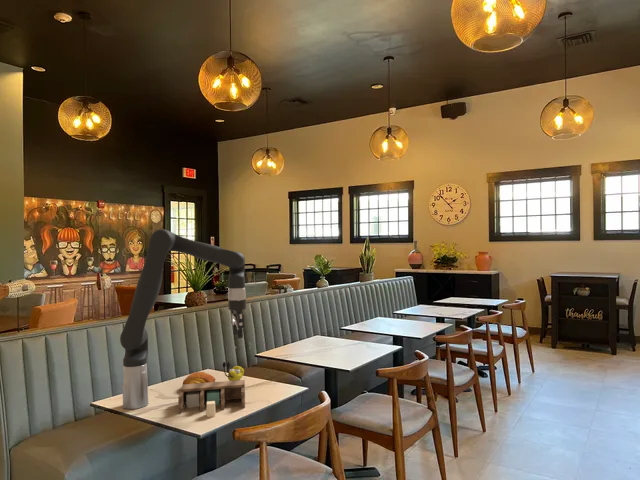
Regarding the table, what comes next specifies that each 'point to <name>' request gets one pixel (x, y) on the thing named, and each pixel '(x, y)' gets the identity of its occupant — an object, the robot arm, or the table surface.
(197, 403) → the plain block
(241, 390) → the lane shelf
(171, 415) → the table surface
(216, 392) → the block
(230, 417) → the table surface
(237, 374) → the toy
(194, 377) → the croissant
